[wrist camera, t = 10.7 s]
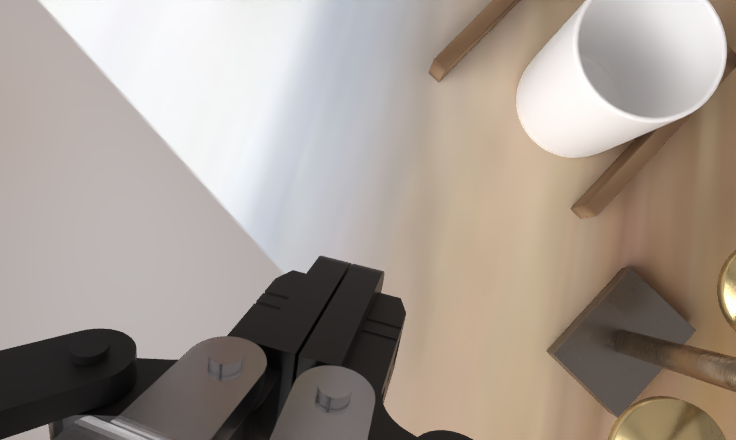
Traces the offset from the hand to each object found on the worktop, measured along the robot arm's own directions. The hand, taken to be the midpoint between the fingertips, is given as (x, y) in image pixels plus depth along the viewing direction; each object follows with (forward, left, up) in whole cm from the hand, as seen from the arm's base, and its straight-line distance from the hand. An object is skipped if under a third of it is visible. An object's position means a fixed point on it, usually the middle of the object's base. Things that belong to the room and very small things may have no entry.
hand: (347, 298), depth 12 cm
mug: (+3, +22, -25) cm, 33 cm away
